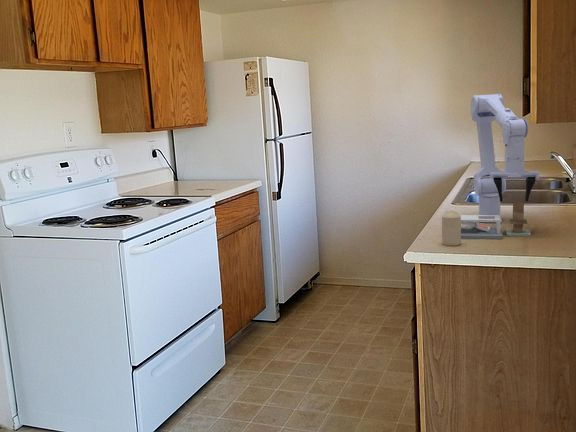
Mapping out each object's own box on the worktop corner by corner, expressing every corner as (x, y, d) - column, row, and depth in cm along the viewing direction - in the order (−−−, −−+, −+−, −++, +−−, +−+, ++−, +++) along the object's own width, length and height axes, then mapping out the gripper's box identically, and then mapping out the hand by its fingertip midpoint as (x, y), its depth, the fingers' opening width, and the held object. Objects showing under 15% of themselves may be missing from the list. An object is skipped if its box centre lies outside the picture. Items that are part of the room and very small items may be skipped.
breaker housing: (450, 229, 205) (450, 213, 204) (500, 229, 200) (500, 213, 199) (448, 238, 192) (448, 221, 191) (502, 239, 187) (502, 221, 186)
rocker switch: (461, 220, 199) (462, 217, 198) (488, 229, 197) (489, 226, 196) (460, 223, 195) (461, 220, 194) (488, 232, 193) (490, 229, 192)
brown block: (509, 230, 196) (509, 200, 194) (525, 230, 195) (526, 200, 193) (510, 233, 191) (510, 203, 190) (527, 233, 190) (527, 203, 188)
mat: (505, 231, 198) (505, 229, 197) (528, 231, 195) (528, 229, 195) (506, 235, 191) (506, 233, 191) (530, 236, 189) (530, 234, 189)
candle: (441, 245, 183) (440, 213, 182) (443, 241, 188) (443, 209, 187) (459, 246, 181) (459, 213, 180) (461, 242, 186) (461, 209, 185)
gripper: (490, 160, 189) (490, 203, 191) (540, 159, 185) (539, 203, 187) (489, 157, 195) (489, 199, 198) (538, 156, 191) (537, 199, 194)
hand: (513, 201), depth 193 cm, fingers open, 7 cm apart
